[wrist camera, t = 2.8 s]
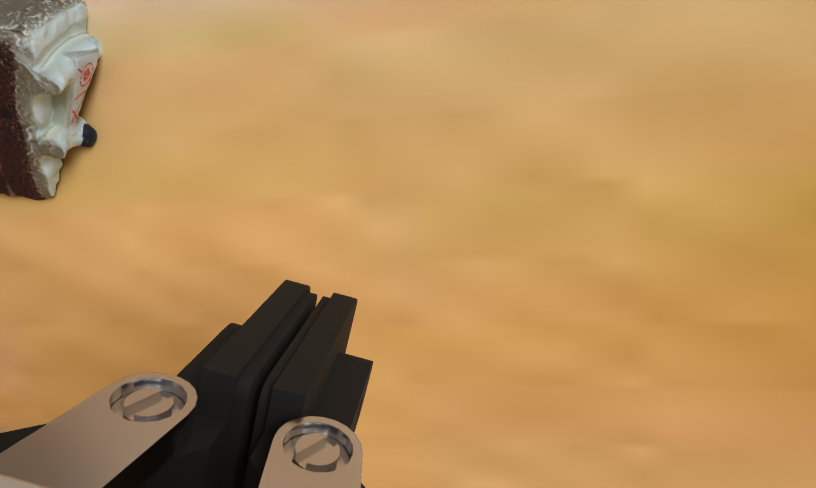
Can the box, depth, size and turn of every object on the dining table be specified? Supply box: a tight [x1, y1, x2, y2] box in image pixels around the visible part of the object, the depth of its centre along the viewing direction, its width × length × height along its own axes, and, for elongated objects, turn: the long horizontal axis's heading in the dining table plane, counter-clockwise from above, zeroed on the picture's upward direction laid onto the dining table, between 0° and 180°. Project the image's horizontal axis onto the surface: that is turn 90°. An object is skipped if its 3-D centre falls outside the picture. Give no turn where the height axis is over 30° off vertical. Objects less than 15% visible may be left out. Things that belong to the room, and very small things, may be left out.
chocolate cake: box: [0, 0, 102, 200], centre depth 21 cm, size 10×7×12 cm
